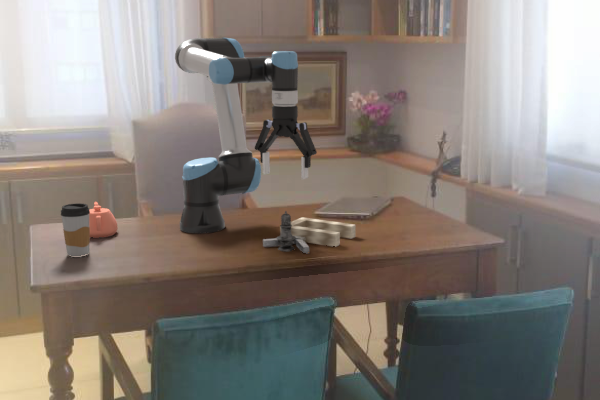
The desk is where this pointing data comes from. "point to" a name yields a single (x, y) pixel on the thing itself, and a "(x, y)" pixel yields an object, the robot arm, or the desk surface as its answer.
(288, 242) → the grey tall rounded piece
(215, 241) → the desk surface
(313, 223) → the bracket
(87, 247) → the coffee cup
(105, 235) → the teapot
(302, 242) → the v block
